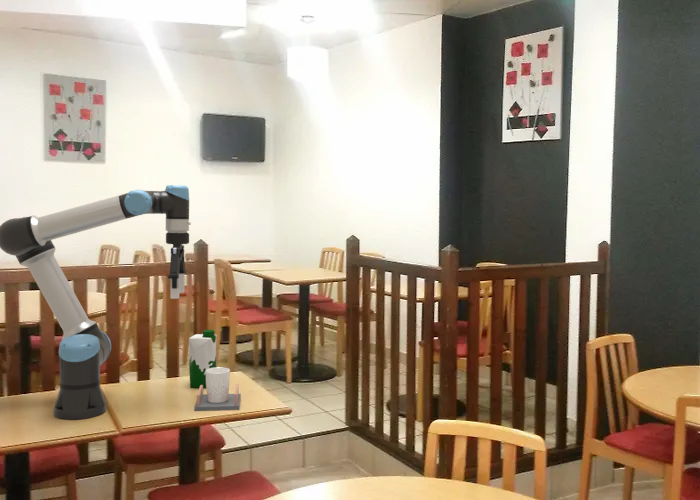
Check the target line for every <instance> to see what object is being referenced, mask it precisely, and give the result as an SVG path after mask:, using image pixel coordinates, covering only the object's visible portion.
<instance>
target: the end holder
mask: <svg viewBox="0 0 700 500" xmlns="http://www.w3.org/2000/svg"><path fill="white" fill-rule="evenodd" d="M239 388H240V387H239V383H238V384H237V383H236V384H235V389H234V393H228V400H227V401H226V402H222V403H211V402H208V401H207V393H205V394H204V388H203V385H200V388H198V390H197V393H196V401H195V404H194V406H193V407H194V412H195V411H197V412H198V411H200V412H202V411H203V412H205V411H235V410H236V411H239V410H240V406H241V397H242V396H241V393H239Z"/></svg>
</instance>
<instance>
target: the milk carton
mask: <svg viewBox="0 0 700 500" xmlns="http://www.w3.org/2000/svg"><path fill="white" fill-rule="evenodd" d="M217 337H218V336H217V334H215V330H213V329H204V330H202V333H201V334H198V333H196V334H194V335H192V336H191V337H188V344H189V345H188V346H189V347H188V348H189V353H188V354H189V357H188V358H189V360H188V363H189V364H188V365H189V387H190V389H199V388H200V385H203V389H206V373H205V370H207V369H209V368H215V367H217Z"/></svg>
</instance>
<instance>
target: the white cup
mask: <svg viewBox="0 0 700 500" xmlns="http://www.w3.org/2000/svg"><path fill="white" fill-rule="evenodd" d="M205 373H206V388H205V390H206V394H207V401H208V402H211V403H222V402H226V401H227V400H228V394H229V393H230V392H229V391H230V379H231V378H230V375H231V369H230V368H229V367H221V366H220V367H219V366H216V367H215V368H209V369H207V370H205Z"/></svg>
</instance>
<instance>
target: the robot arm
mask: <svg viewBox="0 0 700 500" xmlns="http://www.w3.org/2000/svg"><path fill="white" fill-rule="evenodd" d="M146 214H147V215H149V214H150V215H151V214H152V215H156V214H158V215H159V214H160V215H163V214H164V215H165V231H166V233H165V243H166V244H167V245H172V247H171V248H170V265H169V275H167V279H170V280H169V281H170V282H169V283H170V285H169V286H170V295H169V297H170V299H172V300H174V299H176V300H177V299H180V294H184V293H185V274H187V269H186V263H185V245H188V244H189V243H190V233H189V232H188V231H190V226H191V224H192V223H191V221H190V191H189V187H188V186H187V185H180V184H179V185H177V184H176V185H173V184H172V185H171V184H170V185H169V184H168V185H166V186H165V189H164V190H160V191H159V190H144V189H143V190H142V189H136V190H130V191H129V192H126V193H123V194H119V195H116V196H112V197H108V198H105V199H101V200H98V201H94V202H91V203H86V204H83V205H79V206H76V207H72V208H69V209H65V210H62V211H57V212H53V213H50V214H46V215H43V216H36V215H30V216H23V217H18V218H17V217H15V218H9V219H8V220H5V221H4V222H3V223H2V224H0V249H1V250H2V251H3V252H4V253H6V254H8V255H11V256H15V258H16V259H17V261H18V262H19V264H20V266H23V267H27V269H28V270H29V272H30V274H31V276H32V278H33V279H34V281H35V283H36V284H37V287H38V288H39V290H40V292H41V294H42V296H43V297H44V298H45V301H46V303H47V304H48V306H49V308H50V309H51V312H52V313H53V315H54V317H55V319H56V320H57V322H58V324H59V326H60V328H61V329H62V332H63V335H62V338H61V341H60V343H59V346H58V347H59V348H58V360H59V364H58V365H59V391H58V395H57V397H56V400H55V403H54V405H53V406H54V408H53V415H54V417H56V418H58V419H62V418H63V419H64V420H80V419H82V420H83V419H89V418H93V417H97V416H99V415H102V414H104V413H105V412H106V411H107V401H106V399H105V397H104V392H103V391H102V388H101V375H100V374H101V370H100V368H101V366H102V365H104V363H105V362H106V361H107V360H108V358H109V357H110V354H111V350H112V342H111V338H110V337H109V336H108V335H107V334H106V333H105V332H104V331H102V330H101V329H100V327H99V325H98V323H97V322H96V321H95V320H90V318H89V317H88V316H87V313H86V311H85V310H84V308H83V306H82V304H81V303H80V301H79V299H78V297H77V295H76V293H75V291H74V289H73V288H72V286H71V284H70V283H69V281H68V279H67V277H66V275H65V273H64V272H63V269H62V268H61V266H60V264H59V262H58V261H57V258H56V257H55V252H56V250H57V249H56V246H55V245H54V243H53V240H56V239H59V238H63V237H67V236H70V235H73V234H77V233H81V232H85V231H87V230H91V229H95V228H98V227H102V226H105V225H109V224H112V223H117V222H119V221H123V220H127V219H131V218H134V217H139V216H142V215H146ZM63 419H62V420H63Z"/></svg>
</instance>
